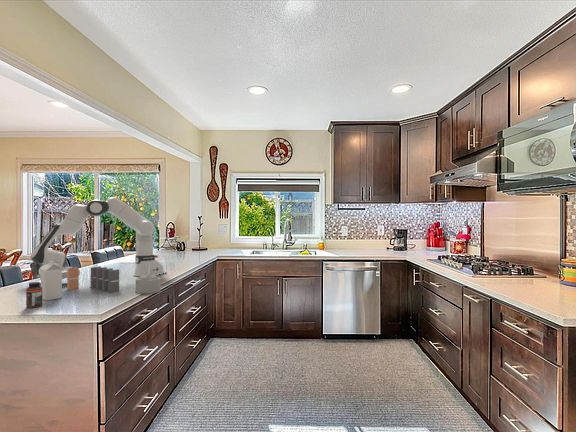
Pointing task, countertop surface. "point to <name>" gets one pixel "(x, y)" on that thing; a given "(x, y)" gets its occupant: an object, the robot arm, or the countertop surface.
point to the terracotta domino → (72, 278)
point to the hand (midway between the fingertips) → (66, 275)
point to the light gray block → (148, 284)
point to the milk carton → (51, 281)
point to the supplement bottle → (34, 295)
